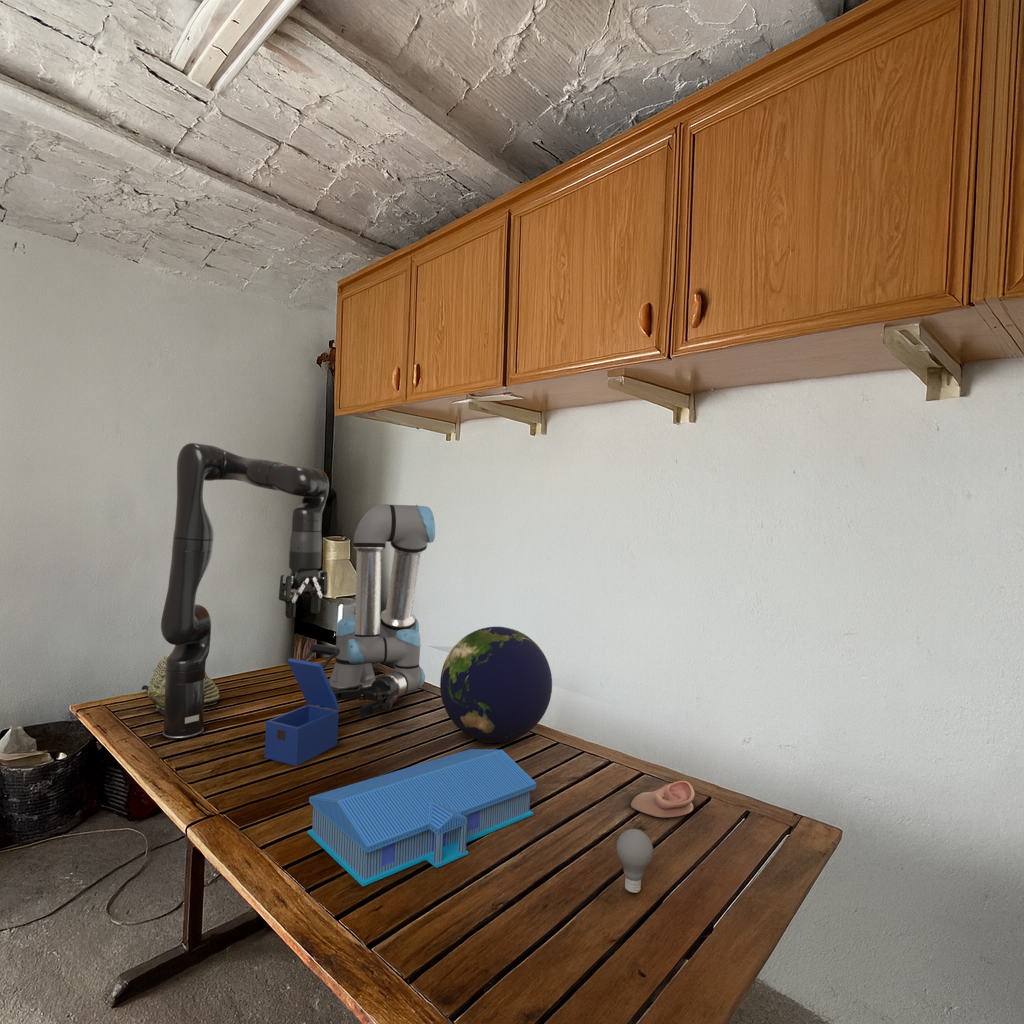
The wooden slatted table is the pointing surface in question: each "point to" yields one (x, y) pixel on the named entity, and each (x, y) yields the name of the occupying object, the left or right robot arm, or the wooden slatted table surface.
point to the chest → (301, 734)
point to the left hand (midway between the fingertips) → (303, 615)
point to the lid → (315, 677)
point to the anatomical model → (666, 800)
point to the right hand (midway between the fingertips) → (340, 708)
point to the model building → (420, 812)
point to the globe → (496, 684)
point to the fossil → (158, 687)
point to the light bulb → (634, 857)
